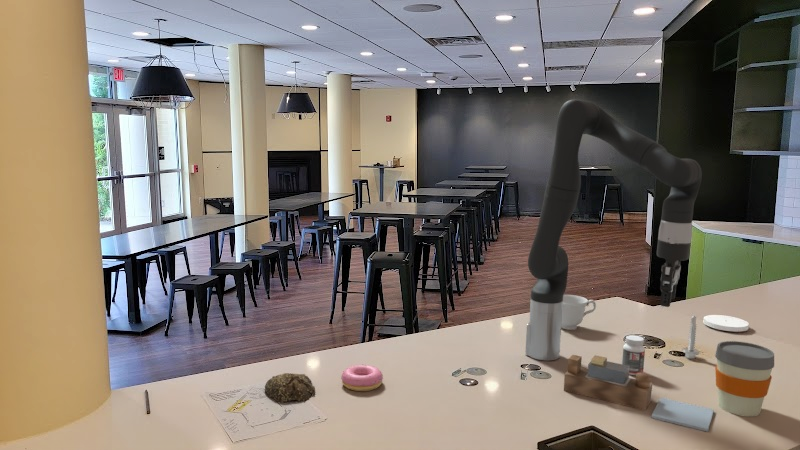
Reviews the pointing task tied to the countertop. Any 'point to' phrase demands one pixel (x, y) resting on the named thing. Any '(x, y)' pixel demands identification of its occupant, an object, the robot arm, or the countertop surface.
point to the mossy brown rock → (289, 387)
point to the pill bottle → (634, 354)
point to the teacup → (574, 310)
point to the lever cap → (608, 370)
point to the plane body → (608, 386)
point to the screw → (691, 341)
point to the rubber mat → (683, 414)
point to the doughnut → (362, 378)
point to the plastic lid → (726, 323)
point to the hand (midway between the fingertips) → (667, 302)
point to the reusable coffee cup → (743, 376)
